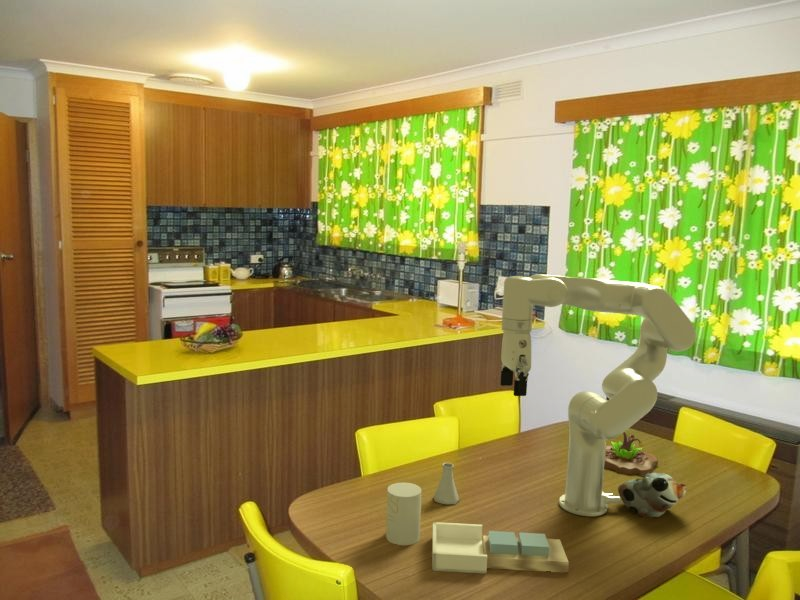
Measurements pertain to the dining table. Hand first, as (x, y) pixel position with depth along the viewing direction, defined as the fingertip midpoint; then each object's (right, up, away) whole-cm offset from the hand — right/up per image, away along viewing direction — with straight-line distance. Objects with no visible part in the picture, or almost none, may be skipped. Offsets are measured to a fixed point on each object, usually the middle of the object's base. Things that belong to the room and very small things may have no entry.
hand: (512, 390), depth 167 cm
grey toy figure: (+39, -34, +8) cm, 52 cm away
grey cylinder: (-28, -34, -11) cm, 46 cm away
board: (-1, -36, -19) cm, 40 cm away
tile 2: (+1, -33, -19) cm, 39 cm away
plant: (+43, -30, +43) cm, 67 cm away
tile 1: (-6, -33, -19) cm, 39 cm away
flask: (-16, -32, +11) cm, 37 cm away
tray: (-16, -35, -18) cm, 43 cm away
